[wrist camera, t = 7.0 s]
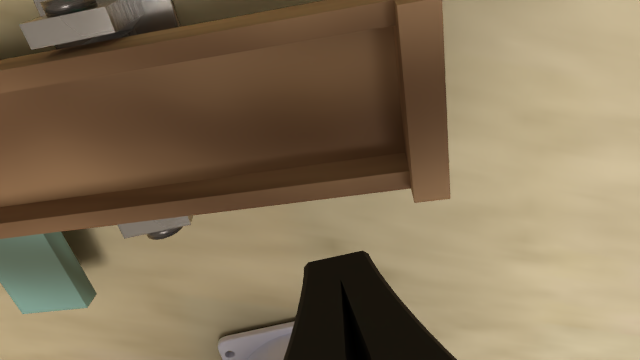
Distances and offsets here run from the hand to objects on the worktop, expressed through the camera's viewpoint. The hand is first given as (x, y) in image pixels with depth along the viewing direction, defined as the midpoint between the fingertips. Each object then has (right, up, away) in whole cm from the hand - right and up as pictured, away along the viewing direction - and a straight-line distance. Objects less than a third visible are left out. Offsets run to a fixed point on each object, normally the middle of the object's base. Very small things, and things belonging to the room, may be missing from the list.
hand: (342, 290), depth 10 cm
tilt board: (-7, +2, +6) cm, 9 cm away
